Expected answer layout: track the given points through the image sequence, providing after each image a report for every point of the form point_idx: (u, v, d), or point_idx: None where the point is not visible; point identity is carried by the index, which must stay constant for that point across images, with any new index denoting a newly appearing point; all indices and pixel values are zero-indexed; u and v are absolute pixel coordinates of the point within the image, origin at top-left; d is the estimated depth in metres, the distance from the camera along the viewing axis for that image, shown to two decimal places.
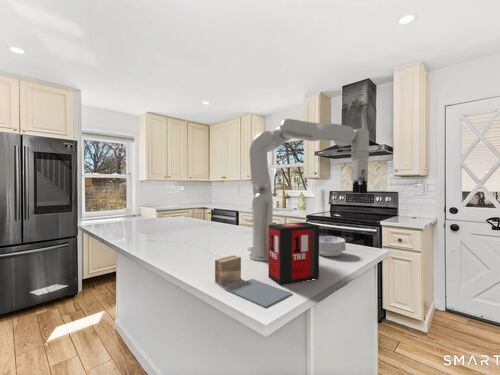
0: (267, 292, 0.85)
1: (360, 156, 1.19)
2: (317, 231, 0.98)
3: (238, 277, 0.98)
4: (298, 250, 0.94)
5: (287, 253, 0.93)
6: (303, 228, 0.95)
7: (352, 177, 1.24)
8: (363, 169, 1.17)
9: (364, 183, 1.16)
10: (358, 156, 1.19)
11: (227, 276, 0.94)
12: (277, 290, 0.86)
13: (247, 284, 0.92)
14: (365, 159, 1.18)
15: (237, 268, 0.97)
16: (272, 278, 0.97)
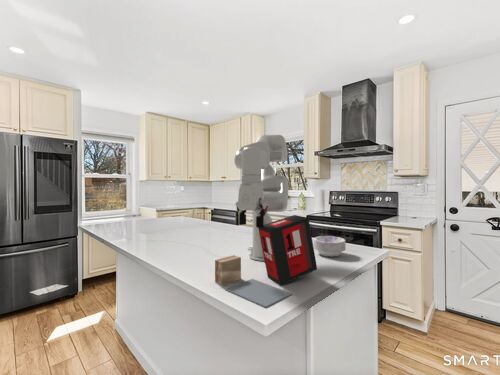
0: (267, 292, 0.85)
1: (256, 181, 0.96)
2: (307, 224, 0.96)
3: (238, 277, 0.98)
4: (292, 247, 0.93)
5: (281, 253, 0.92)
6: (293, 224, 0.93)
7: (242, 206, 0.99)
8: (260, 197, 0.95)
9: (262, 215, 0.94)
10: (254, 181, 0.96)
11: (227, 276, 0.94)
12: (277, 290, 0.86)
13: (247, 284, 0.92)
14: (261, 185, 0.97)
15: (237, 268, 0.97)
16: (271, 278, 0.97)
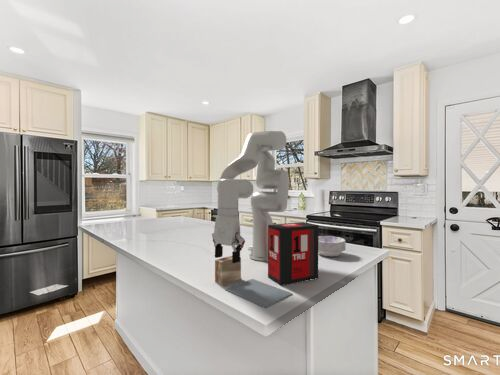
0: (267, 292, 0.85)
1: (232, 214, 0.93)
2: (316, 231, 0.98)
3: (238, 277, 0.98)
4: (298, 250, 0.95)
5: (287, 253, 0.93)
6: (303, 228, 0.95)
7: (218, 239, 0.95)
8: (236, 231, 0.92)
9: (239, 250, 0.92)
10: (230, 214, 0.93)
11: (227, 276, 0.94)
12: (277, 290, 0.86)
13: (247, 284, 0.92)
14: (237, 218, 0.94)
15: (237, 268, 0.97)
16: (272, 278, 0.97)
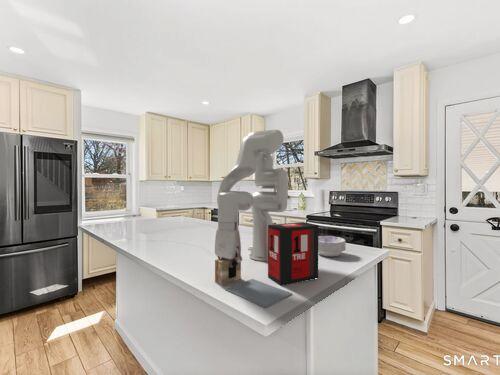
0: (267, 292, 0.85)
1: (232, 228, 0.93)
2: (316, 231, 0.98)
3: (238, 277, 0.98)
4: (298, 250, 0.95)
5: (287, 253, 0.93)
6: (303, 228, 0.95)
7: (218, 253, 0.96)
8: (237, 245, 0.93)
9: (234, 266, 0.94)
10: (230, 229, 0.93)
11: (227, 276, 0.94)
12: (277, 290, 0.86)
13: (247, 284, 0.92)
14: (238, 232, 0.94)
15: (237, 268, 0.97)
16: (272, 278, 0.97)
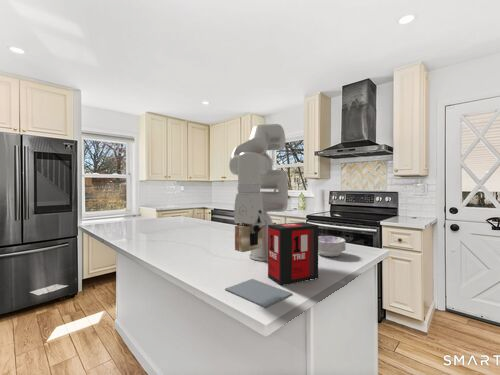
0: (267, 292, 0.85)
1: (254, 191, 0.85)
2: (316, 231, 0.98)
3: (259, 246, 0.90)
4: (298, 250, 0.95)
5: (287, 253, 0.93)
6: (303, 228, 0.95)
7: (239, 219, 0.88)
8: (259, 209, 0.85)
9: (256, 233, 0.86)
10: (252, 191, 0.85)
11: (248, 243, 0.86)
12: (277, 290, 0.86)
13: (247, 284, 0.92)
14: (260, 195, 0.86)
15: (259, 236, 0.89)
16: (272, 278, 0.97)
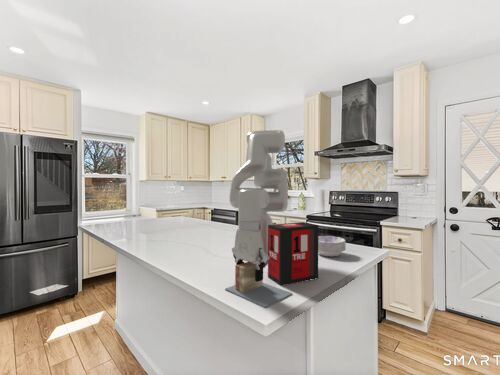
0: (267, 292, 0.85)
1: (255, 229, 0.85)
2: (316, 231, 0.98)
3: (260, 284, 0.90)
4: (298, 250, 0.95)
5: (287, 253, 0.93)
6: (303, 228, 0.95)
7: (239, 255, 0.88)
8: (260, 247, 0.85)
9: (262, 268, 0.85)
10: (253, 229, 0.85)
11: (249, 283, 0.86)
12: (277, 290, 0.86)
13: None
14: (261, 232, 0.86)
15: None
16: (272, 278, 0.97)
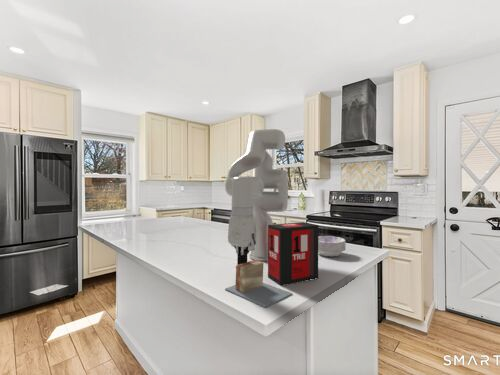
0: (267, 292, 0.85)
1: (247, 214, 0.88)
2: (316, 231, 0.98)
3: (260, 284, 0.90)
4: (298, 250, 0.95)
5: (287, 253, 0.93)
6: (303, 228, 0.95)
7: (232, 241, 0.90)
8: (252, 232, 0.87)
9: None
10: (245, 214, 0.87)
11: (249, 283, 0.86)
12: (277, 290, 0.86)
13: None
14: (253, 218, 0.89)
15: (260, 274, 0.90)
16: (272, 278, 0.97)
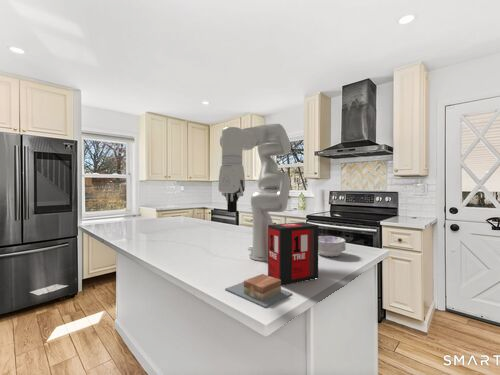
0: None
1: (237, 162, 0.93)
2: (316, 231, 0.98)
3: None
4: (298, 250, 0.95)
5: (287, 253, 0.93)
6: (303, 228, 0.95)
7: (222, 188, 0.95)
8: (241, 179, 0.92)
9: (235, 201, 0.95)
10: (234, 162, 0.92)
11: None
12: None
13: None
14: (242, 166, 0.94)
15: None
16: None
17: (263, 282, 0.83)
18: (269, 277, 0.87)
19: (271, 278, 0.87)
